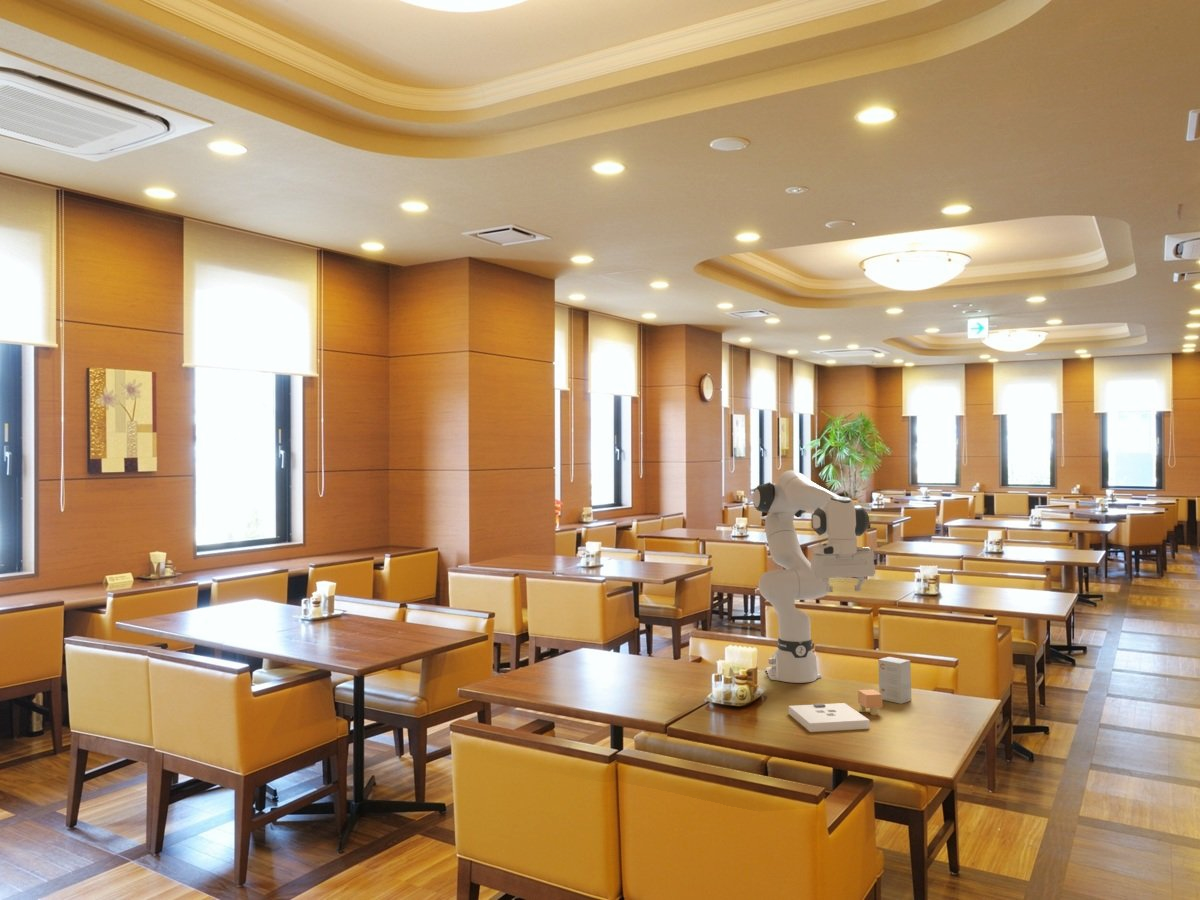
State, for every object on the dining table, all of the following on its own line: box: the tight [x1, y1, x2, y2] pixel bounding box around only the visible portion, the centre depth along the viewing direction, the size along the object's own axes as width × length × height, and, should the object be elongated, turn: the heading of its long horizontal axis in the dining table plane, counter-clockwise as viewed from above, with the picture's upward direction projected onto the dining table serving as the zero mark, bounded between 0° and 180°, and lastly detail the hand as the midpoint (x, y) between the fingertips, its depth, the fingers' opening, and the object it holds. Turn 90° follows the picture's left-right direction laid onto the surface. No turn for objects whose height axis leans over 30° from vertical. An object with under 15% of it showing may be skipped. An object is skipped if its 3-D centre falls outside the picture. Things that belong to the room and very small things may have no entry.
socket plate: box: [788, 702, 871, 733], centre depth 259 cm, size 18×18×3 cm
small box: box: [878, 656, 912, 705], centre depth 280 cm, size 8×6×13 cm
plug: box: [857, 688, 883, 716], centre depth 267 cm, size 6×5×6 cm
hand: (843, 591), depth 274 cm, fingers open, 8 cm apart
